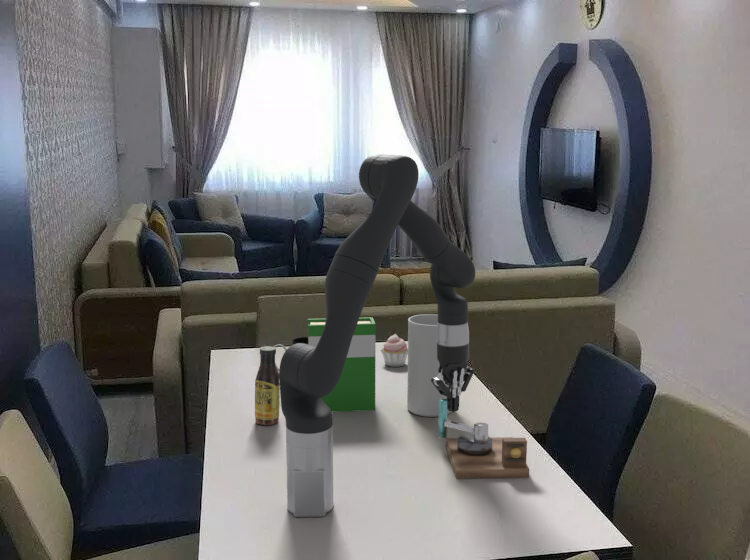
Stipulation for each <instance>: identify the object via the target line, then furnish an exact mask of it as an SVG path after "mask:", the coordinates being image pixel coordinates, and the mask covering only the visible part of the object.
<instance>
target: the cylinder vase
mask: <svg viewBox="0 0 750 560" xmlns="http://www.w3.org/2000/svg"><path fill="white" fill-rule="evenodd" d="M407 321H408V322H407V325H408V326H407V328H408V329H407V330H408V331H407V348H408V355H407V398H406V399H407V402H406V403H407V405H406V407H407V410H409V412H410V413H412V414H414V415H417V416H419V417H426V418H427V417H428V418H439V399H447V396H444V395H441V394H440V393H439V391H438V390H437V389H436V387H435V386H434V385H433V383H432V382H431V379H432V378H433V377H434V378H436V376H437V375H438V374H439V372H438V369H439V366H440V363H439V361H438V359H437V325H438V313H437V314H435V313H434V314H433V313H429V314H428V313H425V314H424V313H423V314H416V315H413V316H410V317H408V319H407ZM451 413H452V412H451V411H449V410H448V409H447V415H450V414H451Z"/></svg>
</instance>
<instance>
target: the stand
mask: <svg viewBox="0 0 750 560" xmlns="http://www.w3.org/2000/svg"><path fill="white" fill-rule="evenodd" d="M490 438H491V439H492V451H491V452H490V453H488V454H485V455H468V454H464V453H462V452H460V451H459V450H458V449H457V439H458V437H446V438H445V448H446V452H447V455H448V457H449V460H450V461H449V462H450V465H451V468H452V470H453V474H454V477H455V479H456V480H457V479H512V478H513V479H514V478H515V479H523V478H525V479H527V478H530V467H529V466H528V464H527V453H528V451H527V450H528V440H527V439H526V437H511V436H508V437H507V436H506V437H505V436H504V437H501V436H499V437H494V436H493V437H490Z"/></svg>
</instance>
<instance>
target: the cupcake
mask: <svg viewBox="0 0 750 560" xmlns="http://www.w3.org/2000/svg"><path fill="white" fill-rule="evenodd" d="M380 352H381V354H382V357H383V361H384V364H385V366H387V367H391V368H399V367H403V366H404V365H405V364H406V360H407V358H408V343H406V341H405V340H404V339H403V338H400V337H399V336H398V335H397V333H394V334H392V335H391V336H389V338H388V339H387V340H386V341H385V343H384V344H383V347H382V349H381V348H380Z"/></svg>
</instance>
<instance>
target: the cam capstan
mask: <svg viewBox="0 0 750 560" xmlns="http://www.w3.org/2000/svg"><path fill="white" fill-rule="evenodd" d="M448 428H451V429H454V430H455V429H456V430H459V431H463V432H467V433H465V434H464V433H463V434H461V435H459V436H458V437H457V438H458V439H457V449H458V450H459V451H460V452H462V453H464V454H468V455H485V454H488V453H490V452H491V451H492V439H491V438H492V437H490V436H489V423H485V422H482V421H481V422H475V423H474V425H472V424H471V425H470V424H468V423H467V424H466V423H463V422H460V421H459V422H458V421H453V420H449V419H448V414H447V399H439V416H438V430H437V431H438V432H437V437H438V438H440V439H446V438H448V437H447V436H448Z"/></svg>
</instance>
